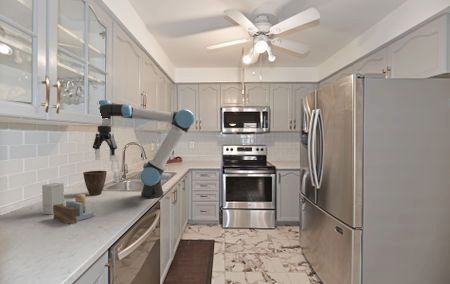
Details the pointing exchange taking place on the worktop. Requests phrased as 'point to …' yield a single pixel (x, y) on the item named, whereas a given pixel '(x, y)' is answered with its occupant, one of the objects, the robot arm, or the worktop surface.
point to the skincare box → (52, 196)
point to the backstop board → (65, 214)
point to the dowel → (81, 200)
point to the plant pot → (95, 181)
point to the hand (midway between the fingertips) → (104, 160)
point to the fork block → (79, 210)
